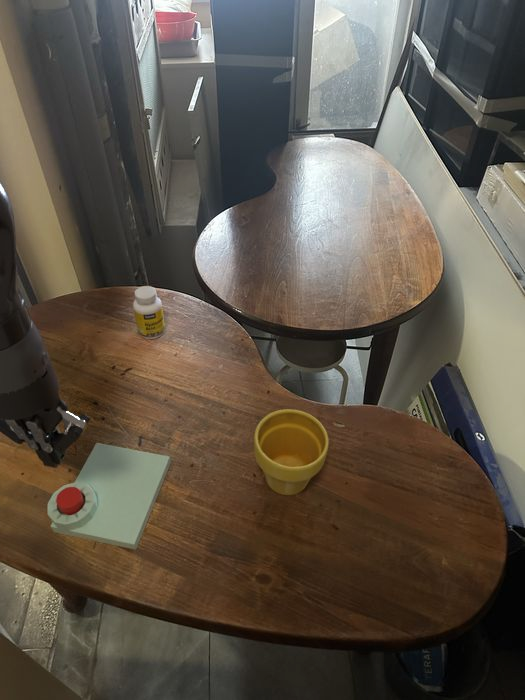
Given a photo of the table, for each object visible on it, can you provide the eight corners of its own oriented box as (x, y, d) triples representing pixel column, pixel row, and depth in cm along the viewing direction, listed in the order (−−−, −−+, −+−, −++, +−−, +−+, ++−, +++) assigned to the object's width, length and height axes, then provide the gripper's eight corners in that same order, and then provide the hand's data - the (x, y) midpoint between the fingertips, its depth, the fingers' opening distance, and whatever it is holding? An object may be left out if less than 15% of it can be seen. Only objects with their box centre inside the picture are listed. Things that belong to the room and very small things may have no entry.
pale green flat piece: (46, 531, 66) (38, 518, 64) (92, 447, 76) (87, 434, 74) (136, 550, 64) (131, 538, 62) (171, 462, 74) (168, 449, 72)
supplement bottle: (146, 344, 94) (139, 304, 87) (133, 329, 97) (124, 290, 90) (170, 332, 96) (165, 293, 90) (156, 319, 99) (150, 280, 93)
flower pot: (318, 447, 77) (325, 408, 70) (324, 507, 69) (332, 470, 63) (253, 447, 77) (254, 407, 70) (252, 506, 69) (253, 469, 62)
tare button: (55, 512, 65) (51, 505, 63) (66, 491, 67) (63, 484, 66) (77, 516, 64) (73, 510, 63) (88, 495, 67) (85, 489, 65)
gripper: (-77, 379, 46) (-11, 476, 58) (49, 403, 45) (91, 498, 57) (-28, 329, 52) (23, 427, 64) (87, 348, 50) (117, 446, 62)
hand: (55, 460), depth 60 cm, fingers closed
